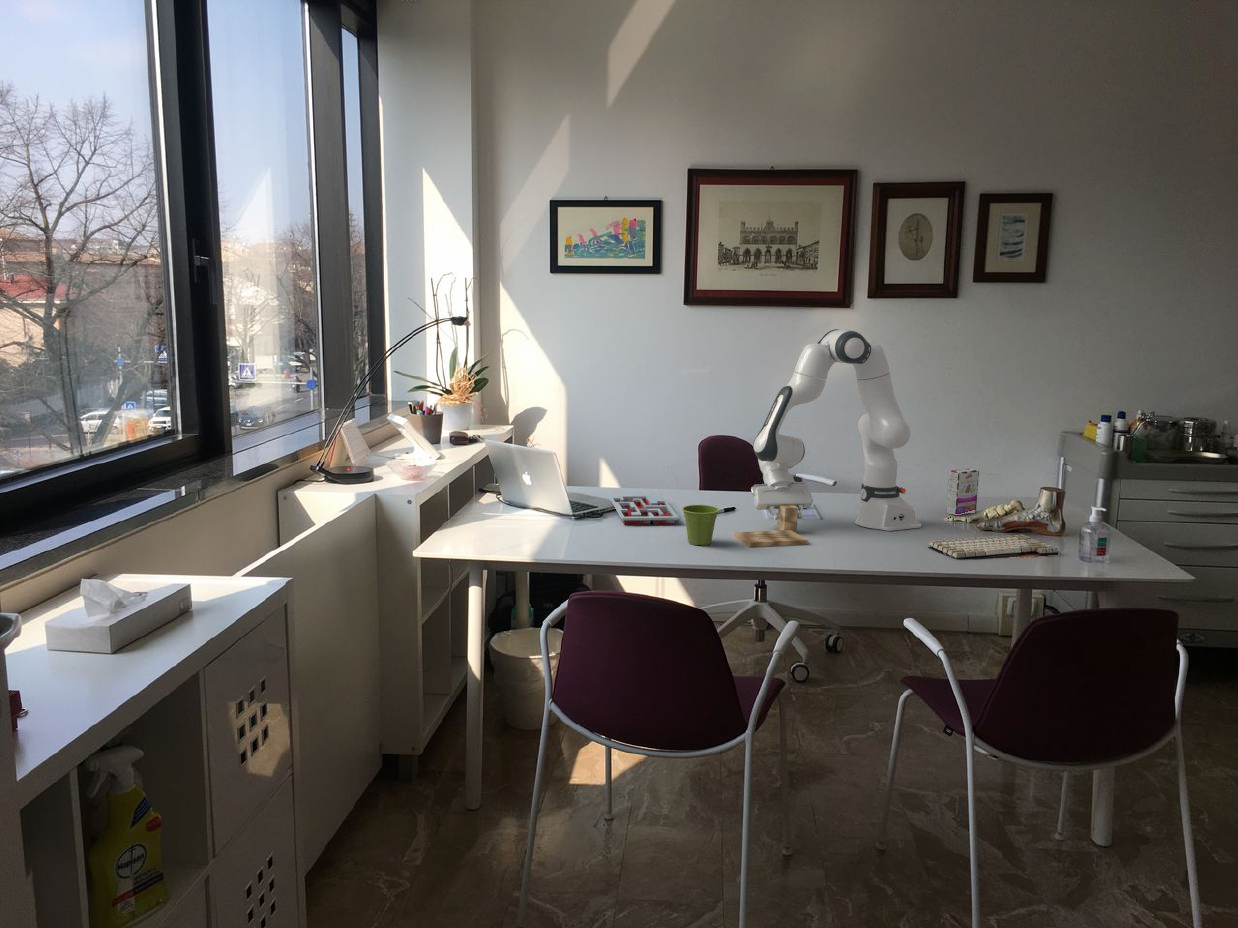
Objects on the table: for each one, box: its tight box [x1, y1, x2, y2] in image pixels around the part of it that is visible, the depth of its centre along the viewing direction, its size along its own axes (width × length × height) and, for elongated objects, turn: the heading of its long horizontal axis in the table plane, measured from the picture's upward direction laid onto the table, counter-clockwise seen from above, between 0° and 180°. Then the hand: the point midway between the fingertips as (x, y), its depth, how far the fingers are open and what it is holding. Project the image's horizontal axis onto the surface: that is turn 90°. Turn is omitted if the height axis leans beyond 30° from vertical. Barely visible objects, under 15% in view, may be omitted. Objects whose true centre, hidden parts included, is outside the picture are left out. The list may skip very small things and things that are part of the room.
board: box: [733, 530, 809, 548], centre depth 313 cm, size 20×13×2 cm, turn 105°
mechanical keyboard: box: [927, 533, 1059, 561], centre depth 308 cm, size 38×19×3 cm, turn 108°
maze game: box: [609, 494, 680, 526], centre depth 345 cm, size 35×20×3 cm, turn 8°
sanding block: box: [776, 505, 799, 534], centre depth 324 cm, size 5×5×9 cm
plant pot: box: [681, 504, 720, 546], centre depth 307 cm, size 12×12×11 cm
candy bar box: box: [945, 467, 980, 514], centre depth 358 cm, size 11×5×16 cm, turn 120°
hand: (788, 518), depth 323 cm, fingers open, 7 cm apart
